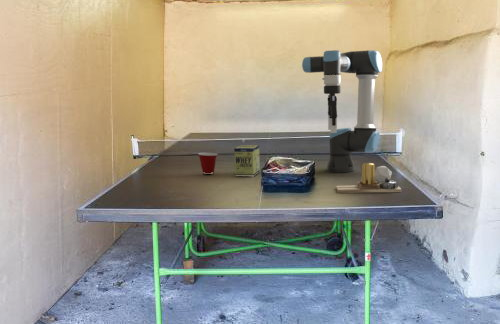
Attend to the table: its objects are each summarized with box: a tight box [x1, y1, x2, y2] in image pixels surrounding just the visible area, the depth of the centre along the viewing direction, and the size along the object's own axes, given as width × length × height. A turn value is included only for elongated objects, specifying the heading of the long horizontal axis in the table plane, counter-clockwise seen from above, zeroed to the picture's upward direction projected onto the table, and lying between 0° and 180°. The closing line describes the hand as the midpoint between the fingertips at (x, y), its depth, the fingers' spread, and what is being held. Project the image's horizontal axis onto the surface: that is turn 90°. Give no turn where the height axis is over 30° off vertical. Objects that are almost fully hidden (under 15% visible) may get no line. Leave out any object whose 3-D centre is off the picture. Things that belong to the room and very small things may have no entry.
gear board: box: [336, 180, 403, 194], centre depth 246 cm, size 10×28×3 cm, turn 86°
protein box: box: [233, 144, 261, 176], centre depth 294 cm, size 10×16×16 cm
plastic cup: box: [197, 152, 219, 173], centre depth 299 cm, size 11×11×12 cm
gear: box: [377, 177, 399, 189], centre depth 245 cm, size 9×9×4 cm
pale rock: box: [375, 165, 393, 182], centre depth 262 cm, size 8×9×10 cm
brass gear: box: [361, 162, 376, 185], centre depth 245 cm, size 6×6×11 cm
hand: (332, 131), depth 249 cm, fingers open, 13 cm apart
